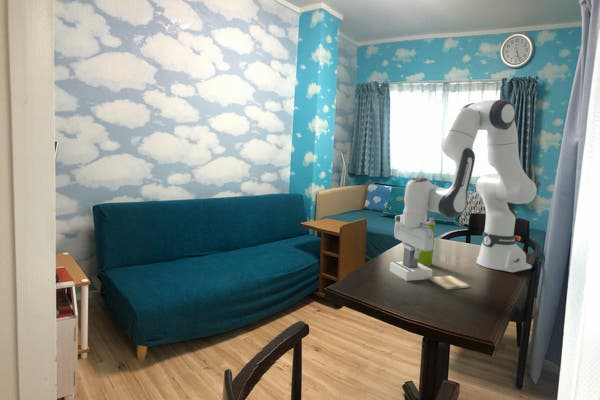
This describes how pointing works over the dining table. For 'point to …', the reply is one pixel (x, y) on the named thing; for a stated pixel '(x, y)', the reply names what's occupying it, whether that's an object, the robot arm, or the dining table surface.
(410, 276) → the white flat square piece
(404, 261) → the plug
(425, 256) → the vape
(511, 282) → the dining table surface
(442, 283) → the coaster
